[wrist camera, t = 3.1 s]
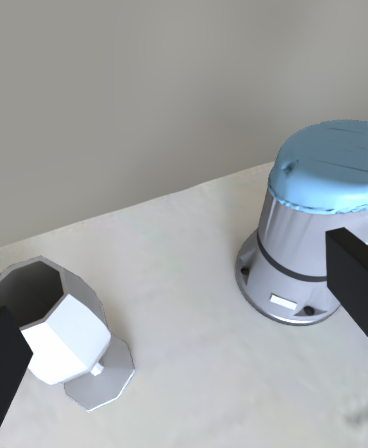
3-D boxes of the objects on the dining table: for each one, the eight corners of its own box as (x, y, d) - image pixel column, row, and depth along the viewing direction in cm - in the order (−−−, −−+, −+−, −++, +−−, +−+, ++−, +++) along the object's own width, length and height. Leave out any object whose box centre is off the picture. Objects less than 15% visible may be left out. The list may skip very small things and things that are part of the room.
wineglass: (49, 367, 39) (-58, 289, 22) (108, 320, 42) (53, 223, 26) (86, 429, 35) (-13, 389, 18) (148, 371, 38) (112, 295, 22)
